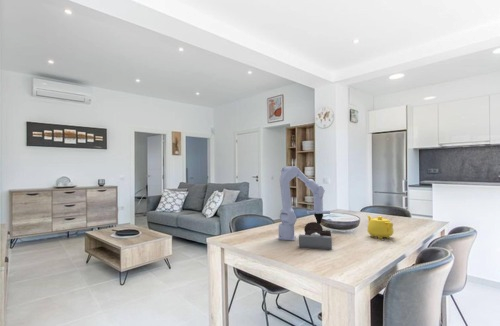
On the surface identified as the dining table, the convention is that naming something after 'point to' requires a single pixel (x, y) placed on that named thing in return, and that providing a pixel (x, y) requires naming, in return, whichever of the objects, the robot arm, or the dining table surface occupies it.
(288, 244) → the dining table surface
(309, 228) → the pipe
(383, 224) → the teapot
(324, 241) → the block
